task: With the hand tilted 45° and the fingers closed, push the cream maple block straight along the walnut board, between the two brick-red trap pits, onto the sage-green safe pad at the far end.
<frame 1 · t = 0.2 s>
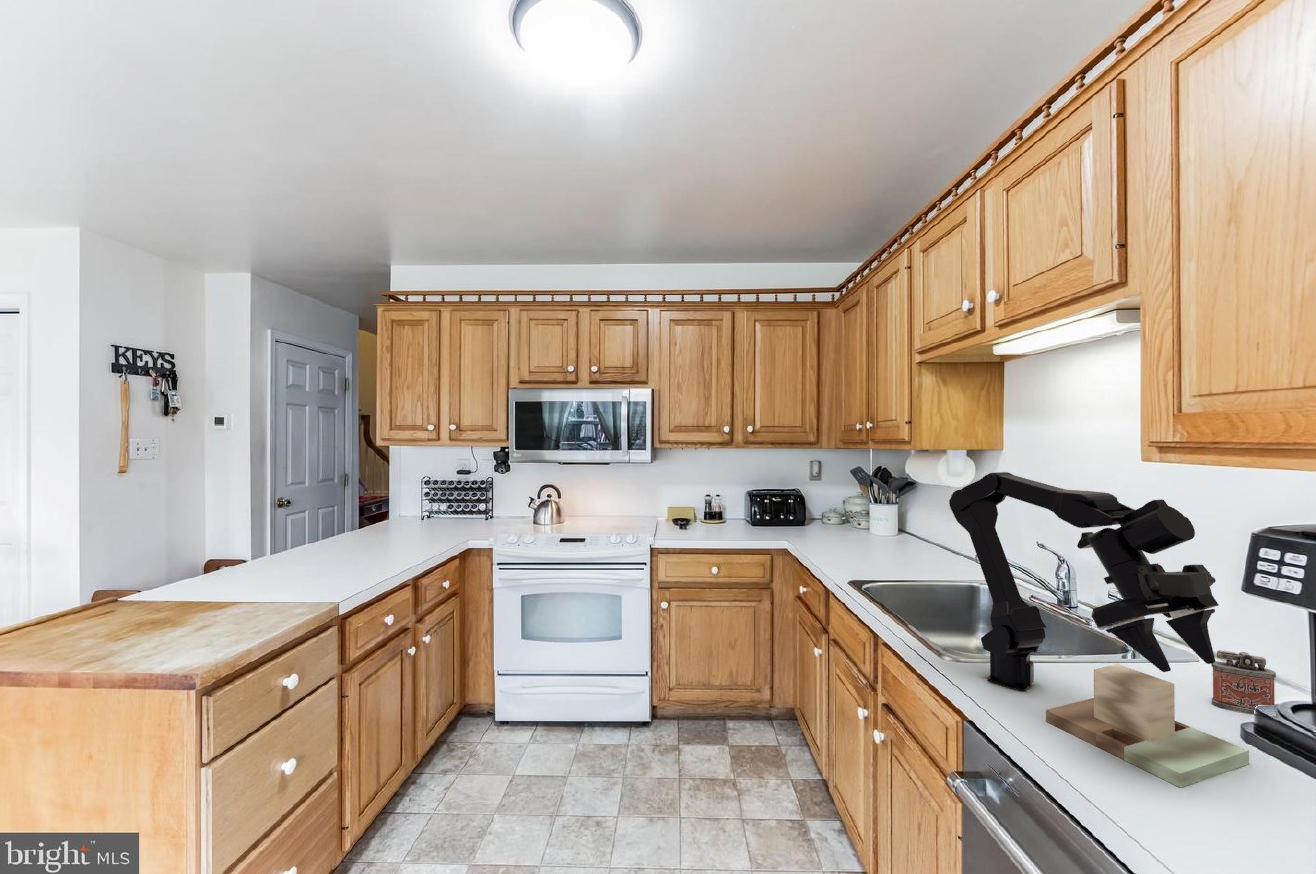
hand: (1189, 667, 81), 15 cm above the table, tool tilted 35°, fingers open, 9 cm apart
lighter: (1243, 710, 99), on the table
maple block: (1133, 725, 90), point 2 cm above the table, touching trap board
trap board: (1136, 739, 90), on the table
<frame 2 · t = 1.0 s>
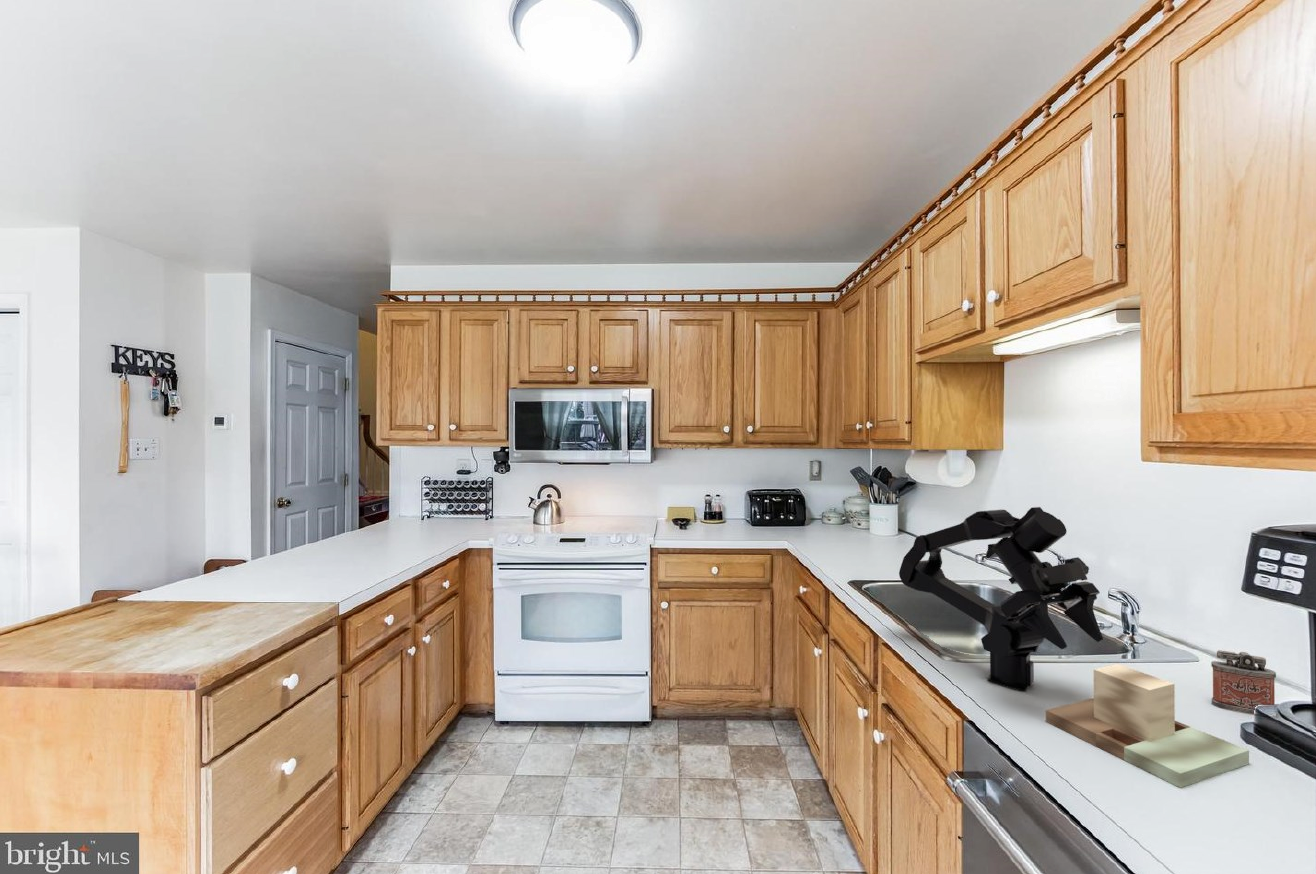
hand: (1083, 644, 97), 12 cm above the table, tool tilted 45°, fingers open, 9 cm apart
nothing on the table moved.
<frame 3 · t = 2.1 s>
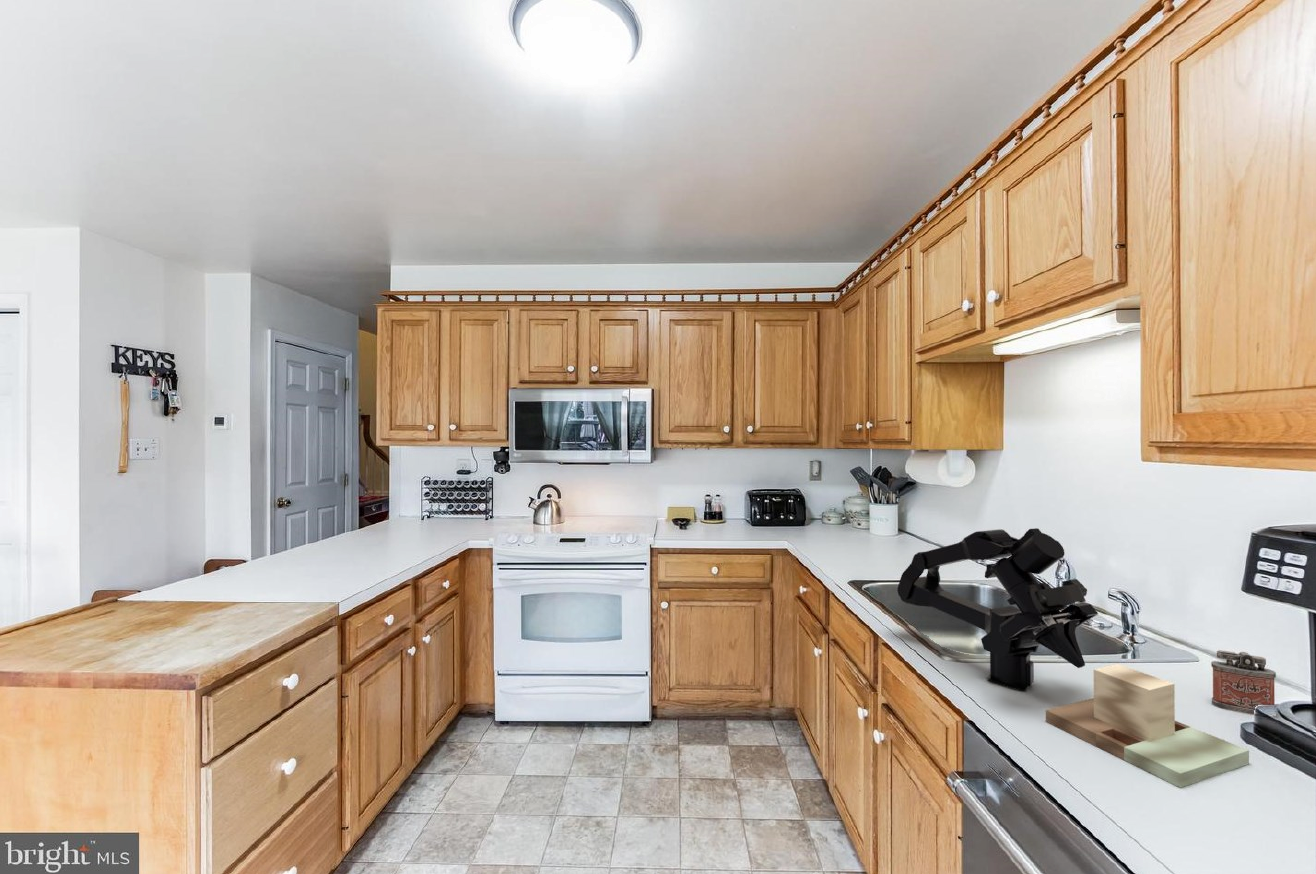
hand: (1081, 666, 97), 8 cm above the table, tool tilted 45°, fingers closed
nothing on the table moved.
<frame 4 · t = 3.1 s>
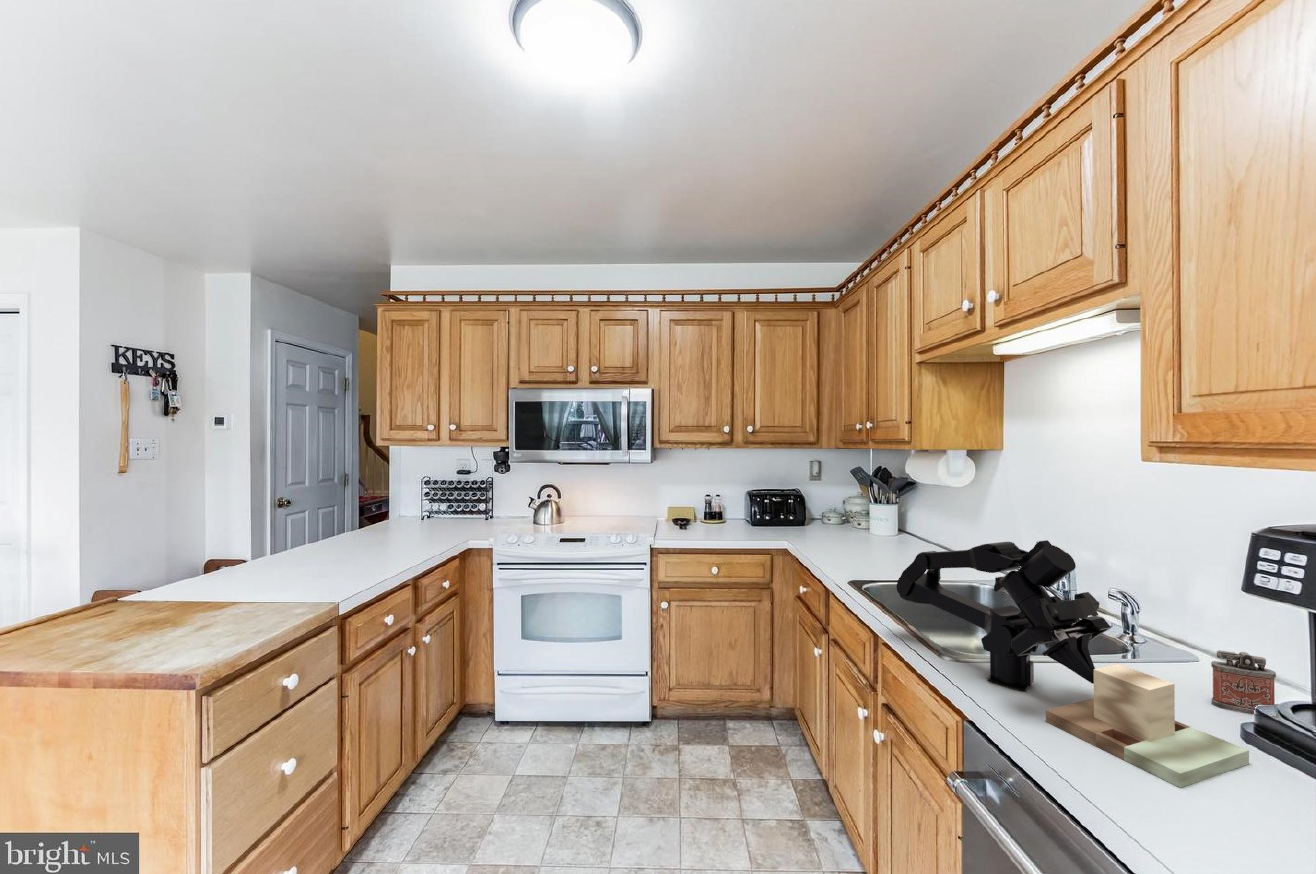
hand: (1096, 682, 95), 7 cm above the table, tool tilted 45°, fingers closed
nothing on the table moved.
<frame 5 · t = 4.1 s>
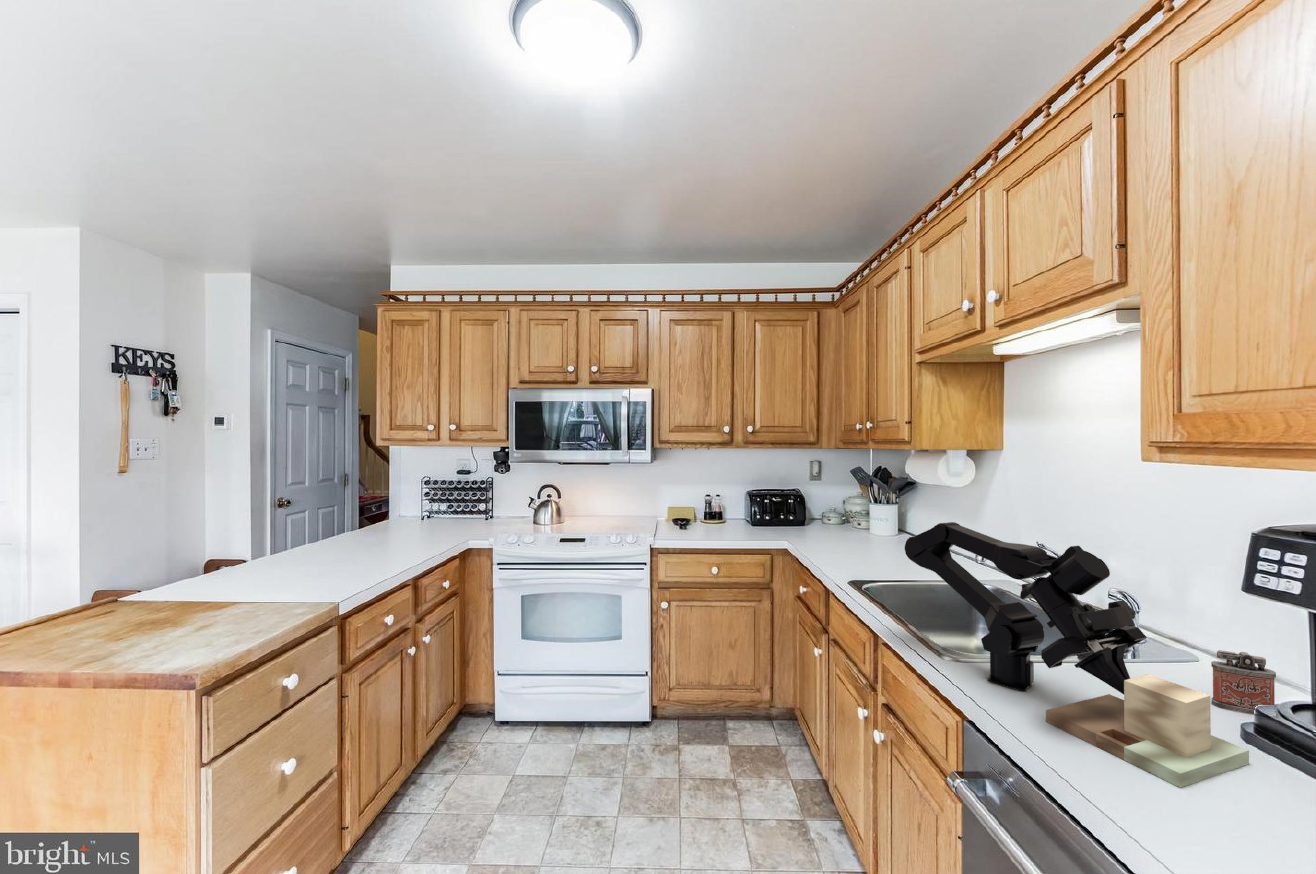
hand: (1133, 696, 90), 7 cm above the table, tool tilted 45°, fingers closed
maple block: (1166, 739, 86), point 2 cm above the table, touching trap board
everything else where it was.
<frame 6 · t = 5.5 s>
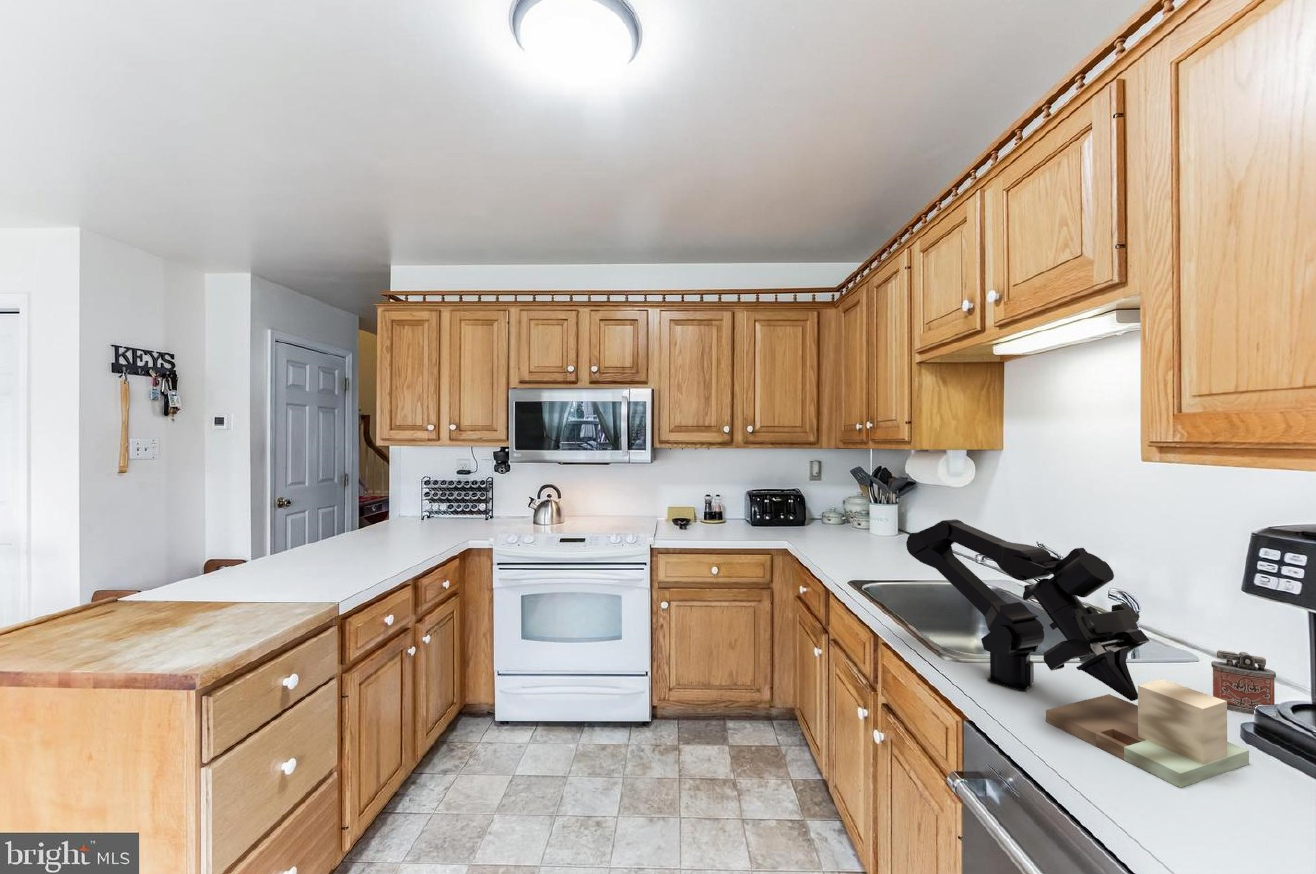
hand: (1135, 699, 90), 6 cm above the table, tool tilted 45°, fingers closed
maple block: (1181, 745, 84), point 2 cm above the table, touching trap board
everything else where it was.
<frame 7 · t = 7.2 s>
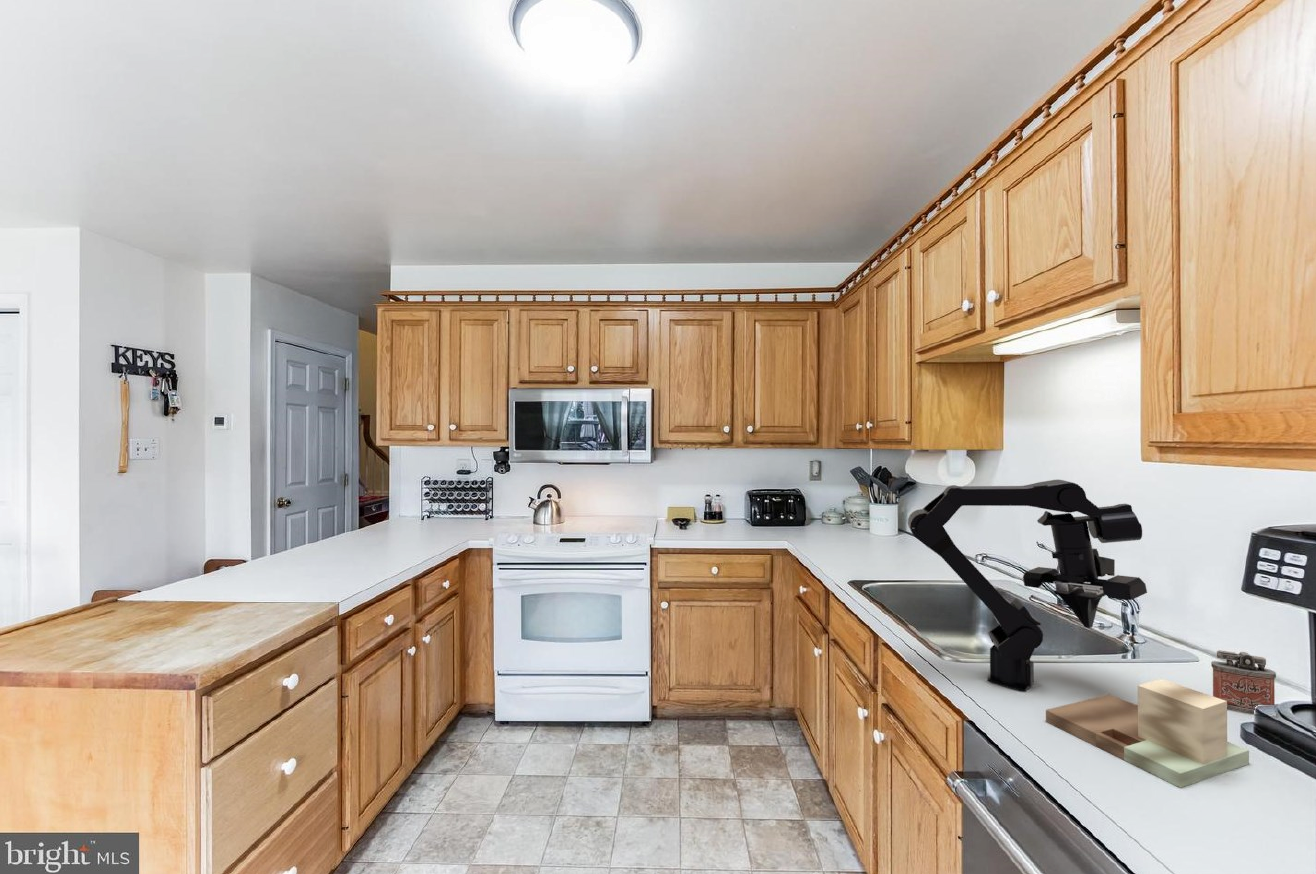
hand: (1088, 627, 106), 12 cm above the table, tool pointing down, fingers closed
nothing on the table moved.
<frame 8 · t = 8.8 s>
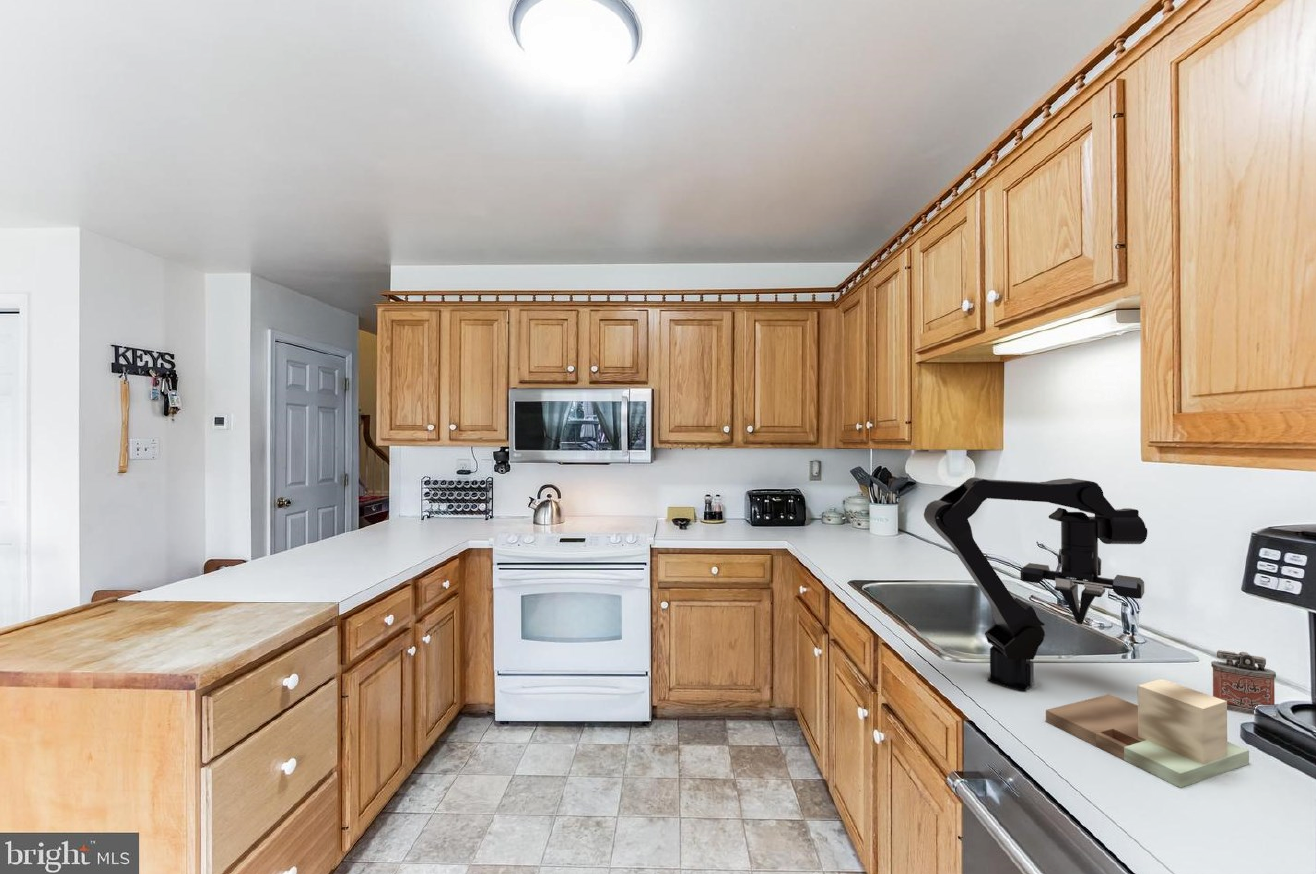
hand: (1080, 623, 109), 12 cm above the table, tool pointing down, fingers closed
nothing on the table moved.
at the end: maple block 0.3 cm from the target spot, point 2.0 cm above the table; maple block tilted 0° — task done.
